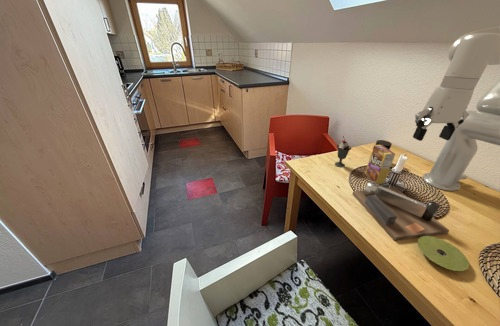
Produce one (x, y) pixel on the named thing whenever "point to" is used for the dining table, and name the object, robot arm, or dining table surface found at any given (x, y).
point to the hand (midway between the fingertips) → (430, 138)
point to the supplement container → (384, 143)
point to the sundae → (342, 152)
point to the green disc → (443, 253)
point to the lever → (402, 201)
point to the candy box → (379, 163)
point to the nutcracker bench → (398, 218)
